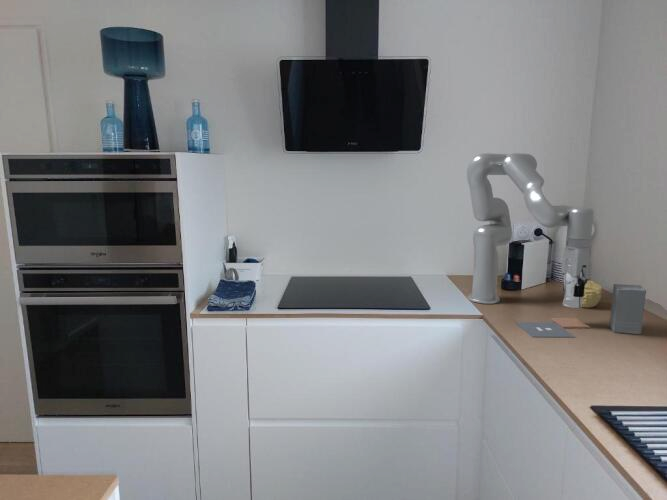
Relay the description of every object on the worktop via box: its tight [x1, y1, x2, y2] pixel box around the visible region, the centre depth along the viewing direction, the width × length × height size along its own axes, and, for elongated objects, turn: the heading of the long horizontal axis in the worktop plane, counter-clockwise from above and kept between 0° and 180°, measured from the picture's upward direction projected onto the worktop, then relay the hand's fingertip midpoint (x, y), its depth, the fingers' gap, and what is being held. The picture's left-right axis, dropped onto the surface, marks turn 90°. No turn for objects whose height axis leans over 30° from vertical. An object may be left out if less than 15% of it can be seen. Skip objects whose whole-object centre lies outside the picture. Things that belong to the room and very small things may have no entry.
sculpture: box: [581, 279, 603, 309], centre depth 181 cm, size 12×12×11 cm
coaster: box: [550, 317, 590, 329], centre depth 160 cm, size 9×9×1 cm
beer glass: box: [562, 263, 583, 309], centre depth 157 cm, size 7×7×15 cm
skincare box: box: [609, 283, 647, 335], centre depth 152 cm, size 8×7×16 cm
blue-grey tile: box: [515, 321, 576, 338], centre depth 154 cm, size 14×14×1 cm
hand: (573, 293), depth 158 cm, fingers closed on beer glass, 6 cm apart
